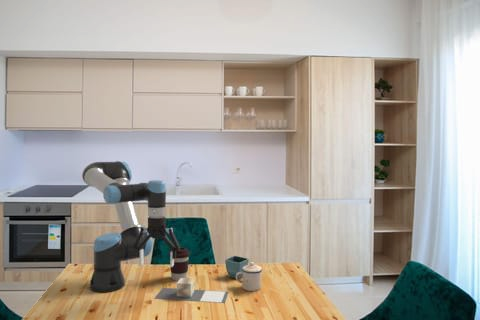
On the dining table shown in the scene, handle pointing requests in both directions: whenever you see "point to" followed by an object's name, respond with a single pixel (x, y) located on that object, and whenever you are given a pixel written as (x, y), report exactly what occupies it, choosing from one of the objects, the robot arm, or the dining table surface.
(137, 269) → the dining table surface
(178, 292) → the birch cube
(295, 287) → the dining table surface
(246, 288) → the teacup with lid
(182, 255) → the coffee cup
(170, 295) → the charcoal mat
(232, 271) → the flower pot
